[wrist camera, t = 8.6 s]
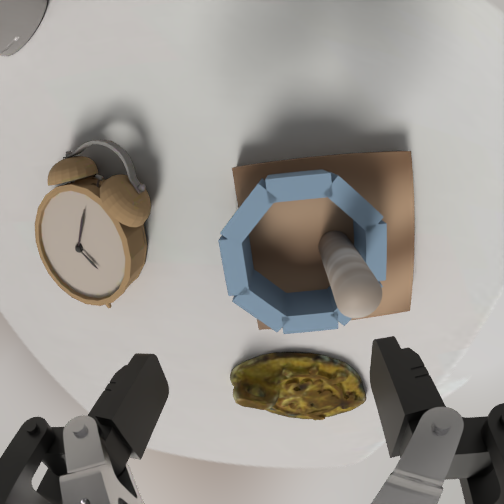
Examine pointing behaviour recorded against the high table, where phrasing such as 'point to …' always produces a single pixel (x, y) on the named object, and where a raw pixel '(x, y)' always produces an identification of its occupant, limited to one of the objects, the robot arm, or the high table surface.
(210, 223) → the high table surface
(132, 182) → the alarm clock
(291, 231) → the wooden peg stand
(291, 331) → the rubber loop
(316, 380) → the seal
